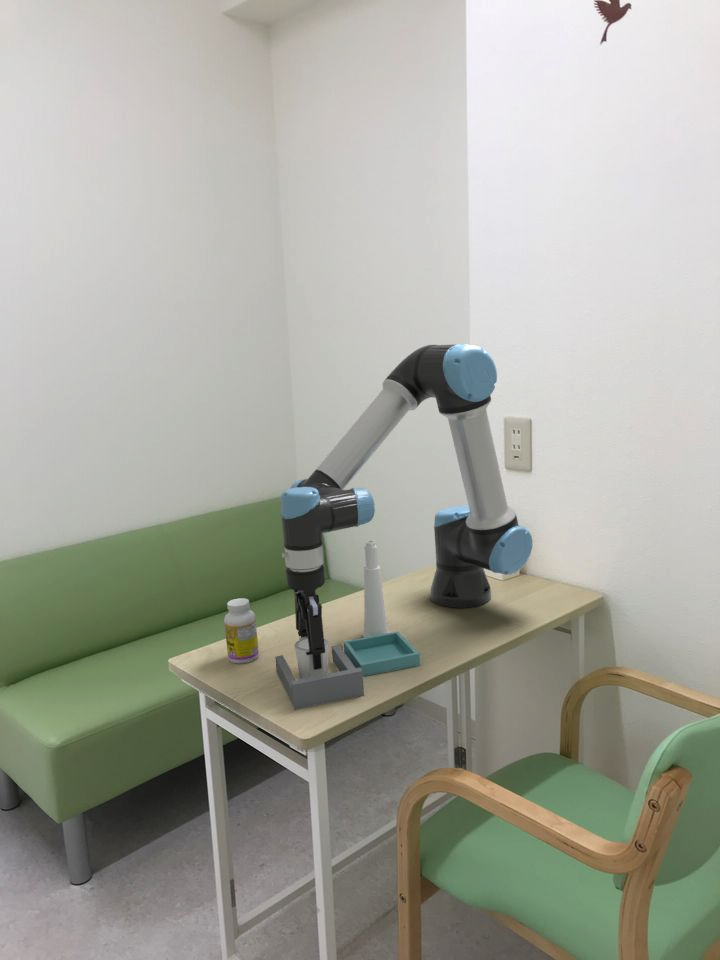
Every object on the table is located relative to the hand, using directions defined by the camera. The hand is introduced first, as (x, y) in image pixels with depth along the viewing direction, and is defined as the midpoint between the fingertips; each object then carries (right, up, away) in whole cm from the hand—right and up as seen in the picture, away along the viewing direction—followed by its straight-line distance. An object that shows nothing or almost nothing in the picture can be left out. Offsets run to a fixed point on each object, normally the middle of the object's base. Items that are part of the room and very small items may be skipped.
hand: (312, 674), depth 155 cm
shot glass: (0, 0, 0) cm, 1 cm away
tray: (+14, +2, +6) cm, 15 cm away
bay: (+1, -1, -4) cm, 4 cm away
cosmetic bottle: (+13, +4, +18) cm, 23 cm away
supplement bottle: (-16, +1, +10) cm, 19 cm away
